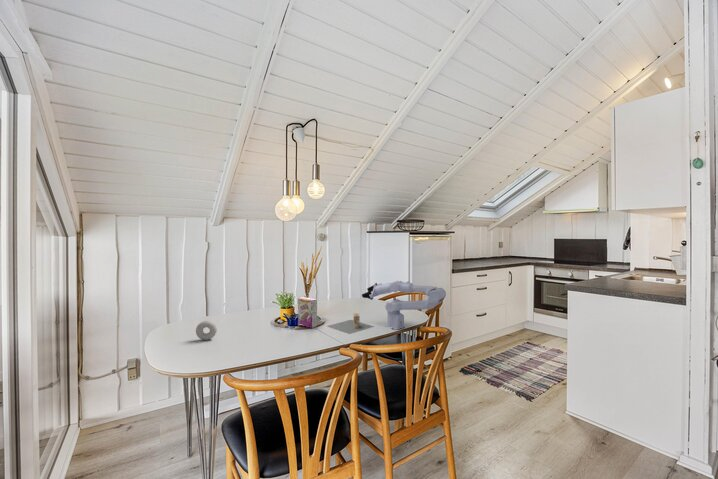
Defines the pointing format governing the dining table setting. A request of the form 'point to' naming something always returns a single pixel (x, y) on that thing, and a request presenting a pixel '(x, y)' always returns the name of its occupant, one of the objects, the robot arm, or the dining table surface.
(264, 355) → the dining table surface
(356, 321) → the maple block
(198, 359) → the dining table surface
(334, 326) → the rubber mat
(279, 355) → the dining table surface
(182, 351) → the dining table surface
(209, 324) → the donut
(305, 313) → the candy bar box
